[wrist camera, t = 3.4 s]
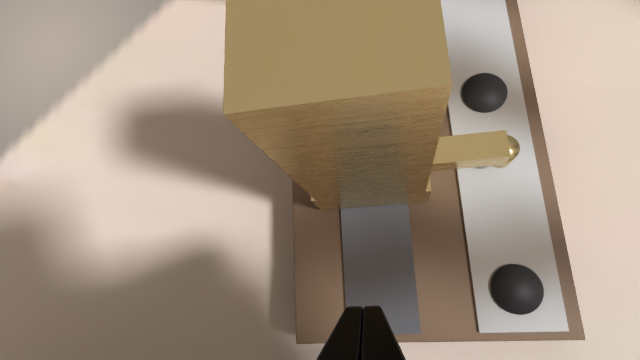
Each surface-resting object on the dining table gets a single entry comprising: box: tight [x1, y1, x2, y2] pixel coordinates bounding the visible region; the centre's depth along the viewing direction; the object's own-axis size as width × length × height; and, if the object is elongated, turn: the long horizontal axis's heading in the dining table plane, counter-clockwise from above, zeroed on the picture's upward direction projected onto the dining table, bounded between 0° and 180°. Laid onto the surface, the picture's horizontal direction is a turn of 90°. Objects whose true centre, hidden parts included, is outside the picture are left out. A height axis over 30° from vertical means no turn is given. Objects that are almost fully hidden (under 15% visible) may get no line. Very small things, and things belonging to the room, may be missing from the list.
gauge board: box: [293, 0, 585, 344], centre depth 13 cm, size 20×10×12 cm, turn 2°
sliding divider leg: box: [223, 0, 520, 210], centre depth 12 cm, size 3×8×10 cm, turn 92°
